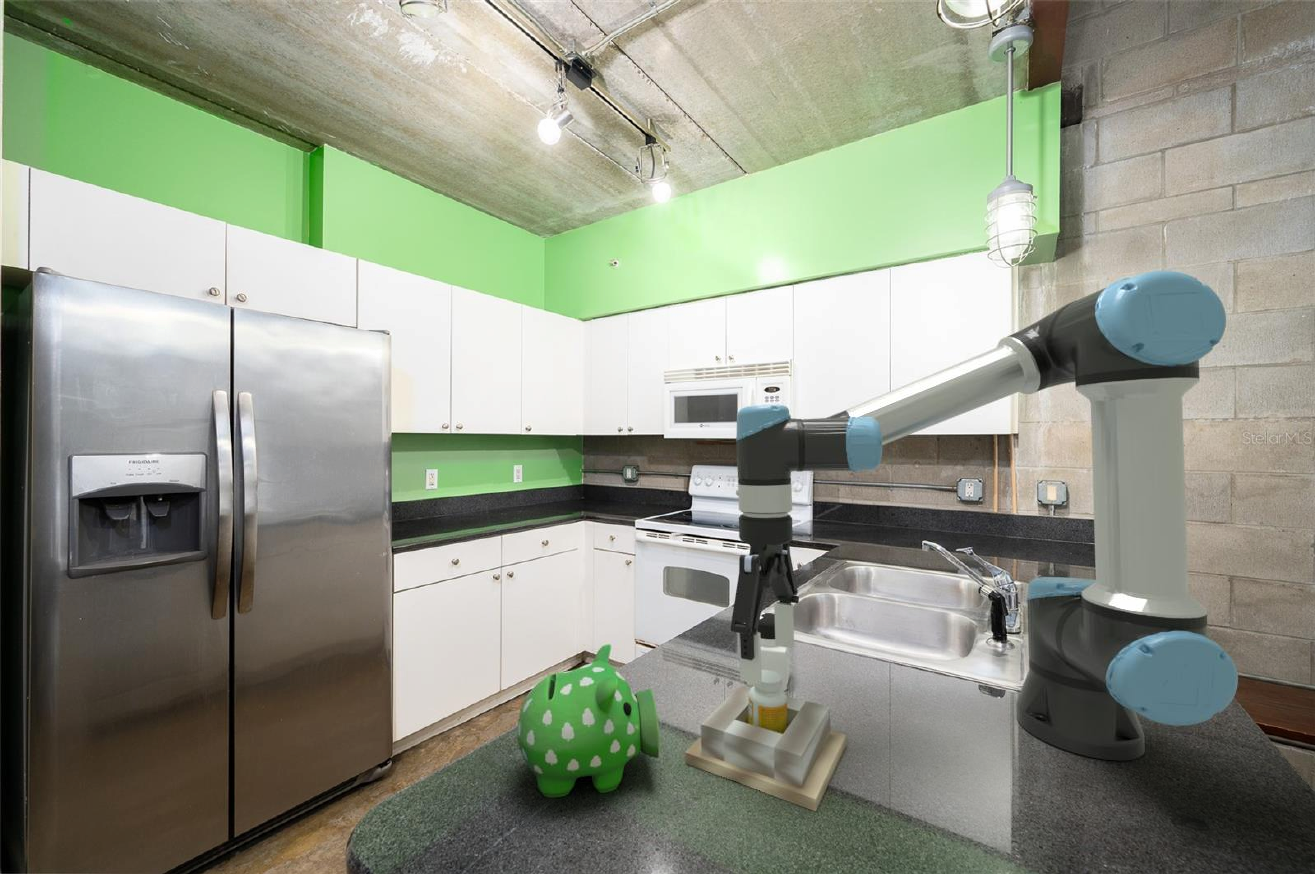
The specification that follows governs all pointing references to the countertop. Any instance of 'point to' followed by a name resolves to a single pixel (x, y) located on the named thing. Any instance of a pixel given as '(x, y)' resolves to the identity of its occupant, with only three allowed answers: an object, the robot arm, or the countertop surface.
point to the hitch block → (771, 749)
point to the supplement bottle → (768, 703)
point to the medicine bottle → (772, 650)
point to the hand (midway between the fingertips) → (769, 662)
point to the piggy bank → (586, 727)
